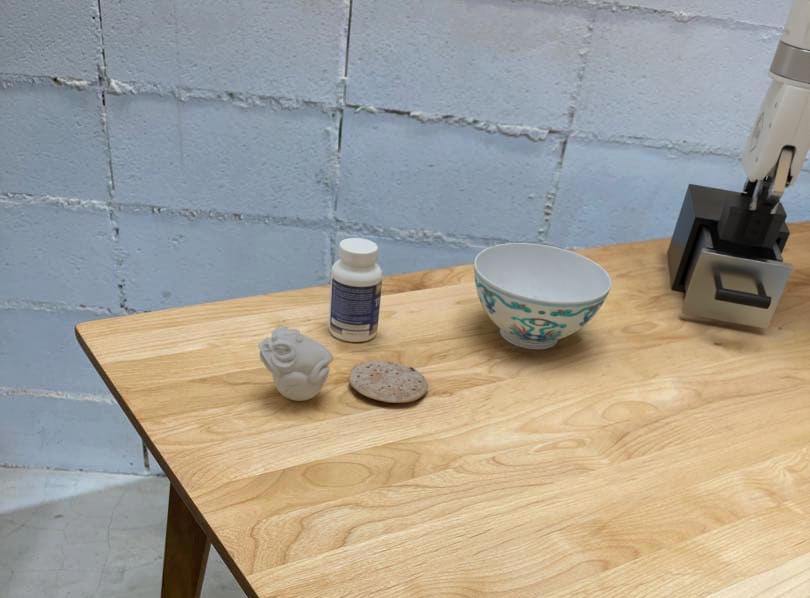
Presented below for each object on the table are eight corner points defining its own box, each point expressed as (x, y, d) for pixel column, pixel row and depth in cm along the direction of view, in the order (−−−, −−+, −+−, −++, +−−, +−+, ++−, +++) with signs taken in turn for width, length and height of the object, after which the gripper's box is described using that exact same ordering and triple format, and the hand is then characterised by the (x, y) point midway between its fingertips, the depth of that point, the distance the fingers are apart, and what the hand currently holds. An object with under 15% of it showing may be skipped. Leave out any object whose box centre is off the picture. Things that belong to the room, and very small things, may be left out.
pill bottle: (382, 343, 91) (390, 256, 85) (333, 344, 90) (338, 256, 83) (371, 319, 95) (378, 234, 88) (324, 320, 93) (328, 234, 87)
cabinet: (760, 306, 109) (790, 233, 103) (671, 289, 110) (695, 216, 104) (748, 267, 119) (775, 198, 113) (667, 252, 120) (689, 183, 113)
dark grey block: (768, 235, 102) (781, 202, 100) (773, 249, 99) (787, 215, 96) (715, 226, 103) (727, 193, 100) (719, 239, 99) (731, 205, 97)
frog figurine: (256, 381, 83) (255, 315, 78) (327, 379, 84) (330, 315, 79) (261, 415, 78) (260, 348, 74) (336, 413, 80) (339, 347, 75)
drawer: (772, 347, 98) (800, 284, 93) (683, 331, 99) (706, 267, 94) (755, 289, 111) (778, 230, 106) (676, 274, 112) (696, 216, 106)
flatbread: (438, 381, 86) (439, 372, 85) (408, 415, 80) (409, 406, 80) (367, 358, 88) (368, 350, 87) (333, 390, 82) (334, 381, 82)
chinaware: (610, 330, 99) (628, 267, 94) (568, 383, 89) (586, 316, 83) (494, 293, 103) (505, 231, 98) (442, 340, 93) (451, 273, 88)
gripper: (762, 45, 95) (708, 207, 107) (784, 78, 83) (719, 257, 95) (829, 56, 95) (767, 217, 107) (862, 90, 82) (787, 269, 94)
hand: (745, 234), depth 101 cm, fingers closed on dark grey block, 4 cm apart
